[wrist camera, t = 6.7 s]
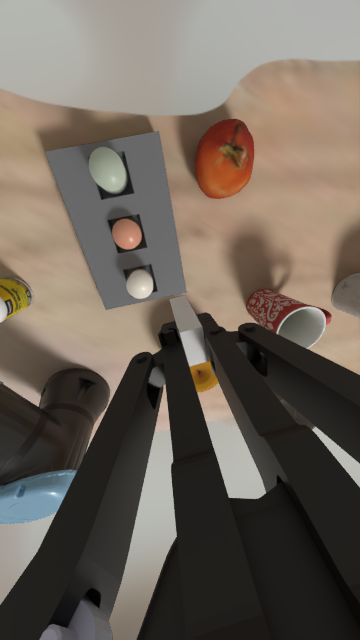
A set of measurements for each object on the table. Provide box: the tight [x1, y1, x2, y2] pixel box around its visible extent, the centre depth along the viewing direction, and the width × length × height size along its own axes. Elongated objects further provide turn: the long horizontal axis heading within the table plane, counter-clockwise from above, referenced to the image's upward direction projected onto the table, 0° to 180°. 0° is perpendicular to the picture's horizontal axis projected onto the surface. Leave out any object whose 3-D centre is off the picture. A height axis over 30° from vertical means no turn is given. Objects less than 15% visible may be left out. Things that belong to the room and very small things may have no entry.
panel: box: [45, 131, 186, 310], centre depth 33 cm, size 16×24×4 cm, turn 10°
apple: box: [190, 356, 218, 392], centre depth 42 cm, size 13×13×11 cm
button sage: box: [89, 147, 128, 194], centre depth 27 cm, size 4×4×4 cm
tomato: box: [195, 119, 254, 199], centre depth 29 cm, size 9×9×8 cm
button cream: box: [126, 269, 153, 299], centre depth 34 cm, size 4×4×4 cm
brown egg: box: [112, 219, 142, 249], centre depth 32 cm, size 4×4×4 cm
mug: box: [247, 289, 331, 349], centre depth 39 cm, size 13×9×14 cm
